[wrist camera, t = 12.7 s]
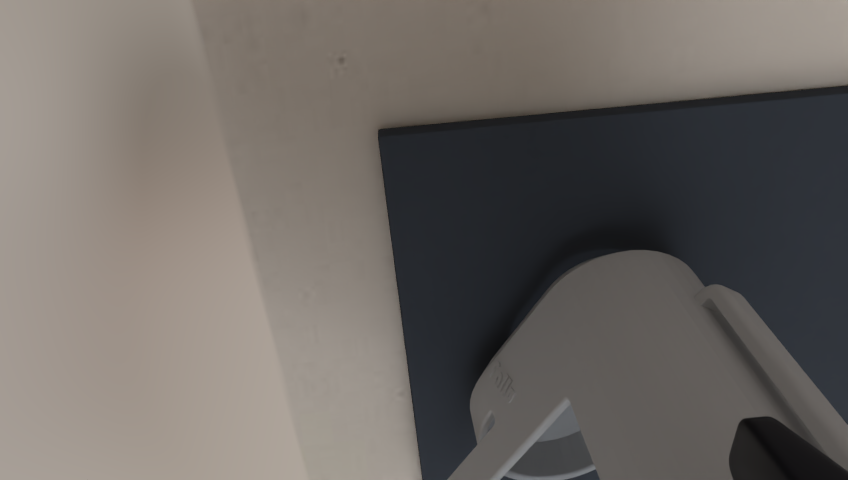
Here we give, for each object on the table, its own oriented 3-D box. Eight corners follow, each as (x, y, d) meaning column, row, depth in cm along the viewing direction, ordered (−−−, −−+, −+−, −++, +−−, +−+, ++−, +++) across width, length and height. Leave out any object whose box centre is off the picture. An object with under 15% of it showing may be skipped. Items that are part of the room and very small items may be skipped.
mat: (434, 569, 33) (435, 580, 32) (378, 128, 20) (378, 136, 19) (829, 534, 32) (836, 545, 32) (1034, 67, 19) (1051, 74, 19)
